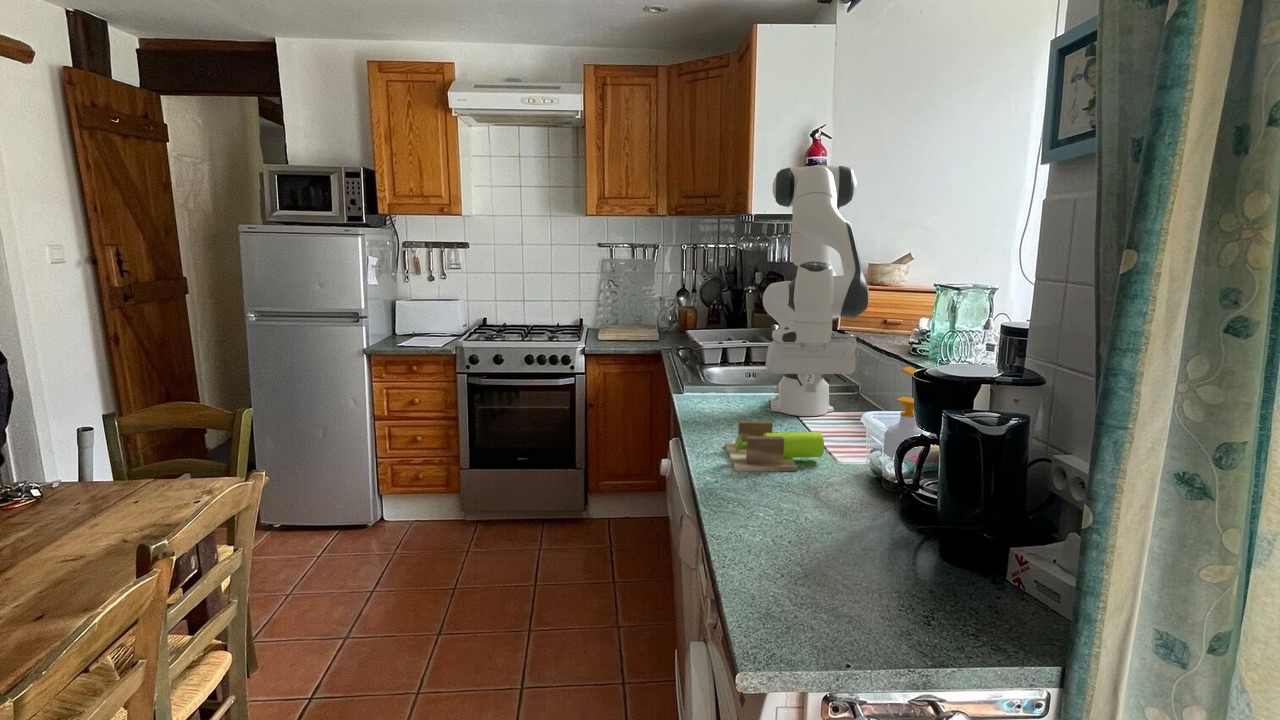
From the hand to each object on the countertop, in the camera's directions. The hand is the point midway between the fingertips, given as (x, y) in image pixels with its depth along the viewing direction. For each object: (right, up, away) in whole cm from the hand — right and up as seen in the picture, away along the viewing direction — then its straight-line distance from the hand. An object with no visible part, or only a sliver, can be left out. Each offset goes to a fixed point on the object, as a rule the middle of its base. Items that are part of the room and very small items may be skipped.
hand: (808, 392), depth 158 cm
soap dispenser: (+3, -12, 0) cm, 12 cm away
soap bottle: (+18, -19, -11) cm, 28 cm away
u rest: (-11, -16, +3) cm, 19 cm away
